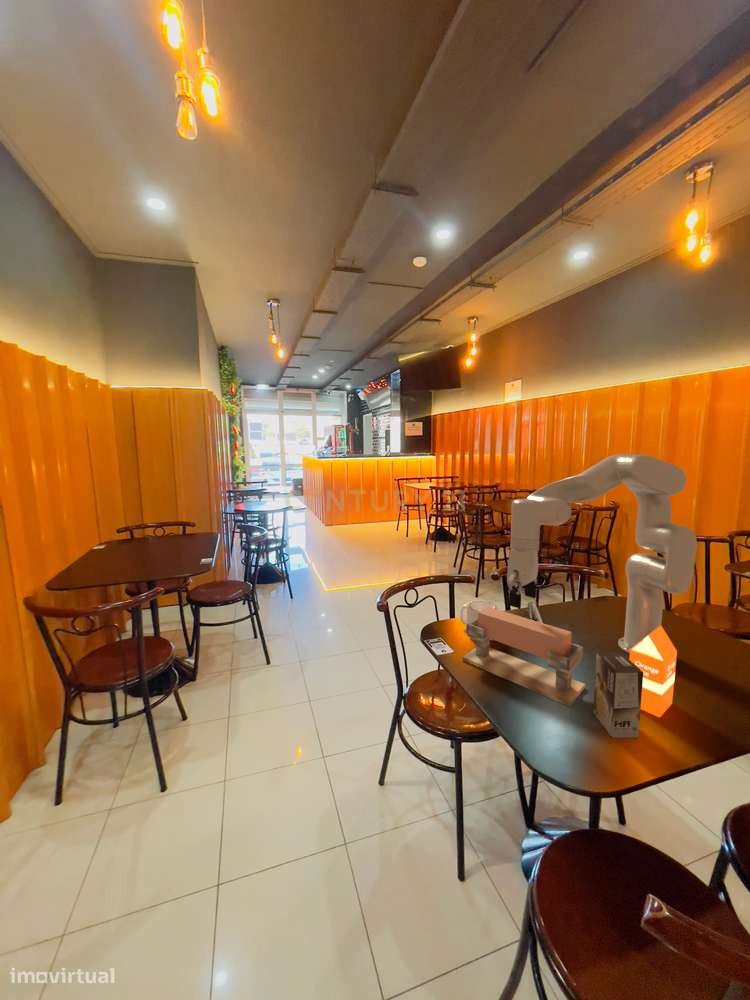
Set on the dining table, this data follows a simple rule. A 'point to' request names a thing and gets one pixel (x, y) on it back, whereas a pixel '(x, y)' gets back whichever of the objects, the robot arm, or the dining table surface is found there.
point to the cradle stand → (528, 668)
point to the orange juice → (656, 670)
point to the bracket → (535, 611)
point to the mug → (474, 610)
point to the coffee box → (618, 694)
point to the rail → (524, 633)
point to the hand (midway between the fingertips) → (522, 601)
